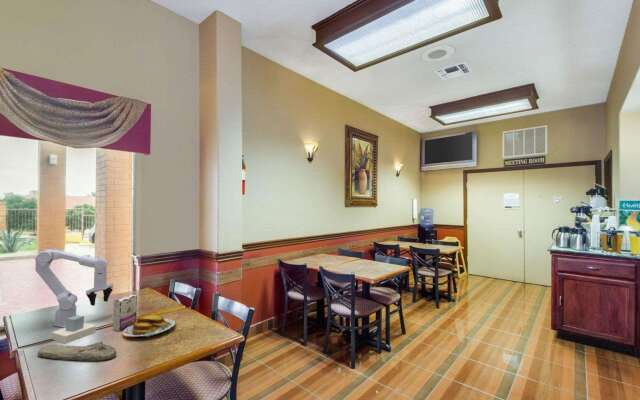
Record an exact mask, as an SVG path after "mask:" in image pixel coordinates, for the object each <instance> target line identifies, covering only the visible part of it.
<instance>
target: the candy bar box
mask: <svg viewBox="0 0 640 400" xmlns="http://www.w3.org/2000/svg"><path fill="white" fill-rule="evenodd" d="M137 298H138V295H137V294H128V295H126V296H122V297H119V298H117V299H114V300H113V310H112V311H113V312H112V313H113V314H112V315H113V316H112V322H113V323H112V331H116V332H117V331H118V332H122V331H124V330H125V329H126V328H127V327H129V326H132V325H134V323H135V322H137V309H138V308H137V307H138V305H137V304H138V303H137V302H138V300H137ZM126 330H127V329H126Z"/></svg>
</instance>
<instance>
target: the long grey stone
mask: <svg viewBox="0 0 640 400" xmlns="http://www.w3.org/2000/svg"><path fill="white" fill-rule="evenodd" d="M117 354H118V353H117V350H116V348H115V347H113V346H112V345H109V344H108V345H107V344H104V342H102V341H99V342H95V343H91V344H87V345H82V346H79V345H56V344H54V345H47V346H45V347H41V348H40V349H39V350H38V352H37V357H39V358H48V359H53V360H63V361H79V362H81V361H82V362H97V361H104V360H105V361H106V360H111V359H113V358H114V357H115V356H116V355H117Z"/></svg>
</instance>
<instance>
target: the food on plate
mask: <svg viewBox="0 0 640 400" xmlns="http://www.w3.org/2000/svg"><path fill="white" fill-rule="evenodd" d="M175 325H176V321H175V320H173V319H169V318H164V317H163V316H162V315H159V314H146V315H143V316H139V317H138V318H137V319H136V322H135V323H134V325H132V326H129V327H127V328H126V329H124V330H122V331H123V332H122V333H121V335H123V337H125V340H128V338H133V337H147V338H149V337H150V336H154V335H157V334H160V333H163V332H164V331H165V332H166V331H167V330H171V328H172V327H174V326H175Z"/></svg>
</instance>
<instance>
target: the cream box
mask: <svg viewBox="0 0 640 400" xmlns="http://www.w3.org/2000/svg"><path fill="white" fill-rule="evenodd" d="M96 330H97V326H96V325H94V324H90V323H86V322H84V327H83V328H82V329H79V330H77V331H74V332H72V331H66V327H65V328H64V327H63V328H61V329H58V330H55V331H52V332H51V340H52V339H53V341H56V342H58V343H62V344H69V343H70V341H71V342H73V340H74V341H75V340H79V339H81V338H84V337H87V336H90V335H94V334H96Z"/></svg>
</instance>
